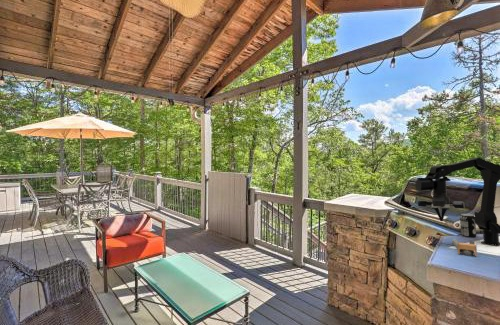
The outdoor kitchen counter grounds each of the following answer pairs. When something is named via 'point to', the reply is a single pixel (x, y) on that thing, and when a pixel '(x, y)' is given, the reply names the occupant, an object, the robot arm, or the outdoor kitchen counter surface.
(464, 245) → the orange u-shaped block
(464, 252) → the arm
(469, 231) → the beverage can
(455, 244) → the tongs free arm
